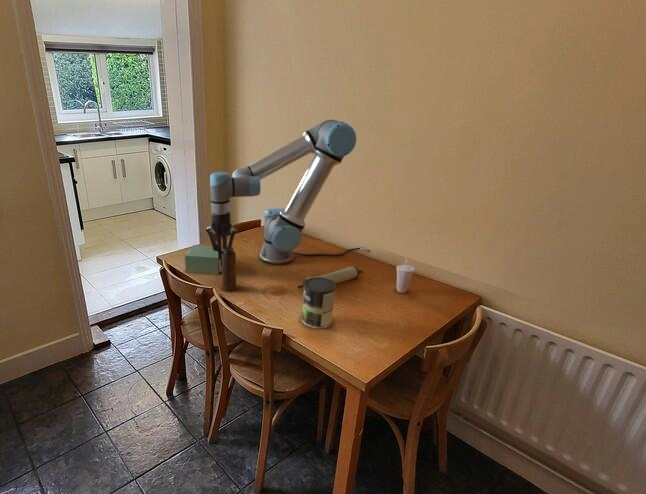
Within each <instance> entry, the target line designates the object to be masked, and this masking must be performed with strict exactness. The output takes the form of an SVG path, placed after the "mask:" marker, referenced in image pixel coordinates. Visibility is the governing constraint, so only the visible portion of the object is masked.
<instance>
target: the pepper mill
mask: <svg viewBox="0 0 646 494" xmlns="http://www.w3.org/2000/svg"><path fill="white" fill-rule="evenodd" d="M221 277H222V281H221V282H222V290H223V291H224V292H227V293H228V292H234V291H236V290H237V252H235V251H234V248H233V246H232V247H228V246H227V247H225V248H224V252H222V272H221Z"/></svg>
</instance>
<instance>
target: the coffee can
mask: <svg viewBox="0 0 646 494" xmlns="http://www.w3.org/2000/svg"><path fill="white" fill-rule="evenodd" d="M312 277H313V278H310V277H308V278H309V279H307V280H305V279H304V280H305V281H304V280H303V281H304V287H303V295H302V310H301V322H302V324H303V325H305V326H307V327H309V328H312V329H320V330H321V329H326V328H328V327H330V326H331V325H332V323H333V311H334V301H335V291H336V287H337V286H336V285H337V283H336V284H335V283H334V282H333V281H332V280H330V279H327V278H322V277H317V276H312Z"/></svg>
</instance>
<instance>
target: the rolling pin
mask: <svg viewBox="0 0 646 494" xmlns="http://www.w3.org/2000/svg"><path fill="white" fill-rule="evenodd" d="M362 273H363V269H358V267H357V266H348V267H345V268H342V269H339V270H336V271H332V272H328V273H325V274H321V275H318V276H316V277H322V278H327V279H330V280H332V281H333V282H334V283H335V284H336V285H337V284H339V283H343V282H346V281H349V280H353V279H358V278H359V277H360V274H362ZM313 277H314V276H311V277H304V279H303V280H302V284H299V285H297V286H296V287H297V289H304V281H305V280H307V279H309V278H313Z"/></svg>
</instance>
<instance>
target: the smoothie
mask: <svg viewBox="0 0 646 494" xmlns="http://www.w3.org/2000/svg"><path fill="white" fill-rule="evenodd" d="M408 261H409V256H406V257H405V264H397V266H396V268H395V270H396V291H397V292H398V293H401V294H402V293H403V294H405V293H407V292H408V288H409V285H410V283H411V280H412V276H413V274H414V273H415V267H414V266H413V265H409V264H408Z"/></svg>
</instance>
